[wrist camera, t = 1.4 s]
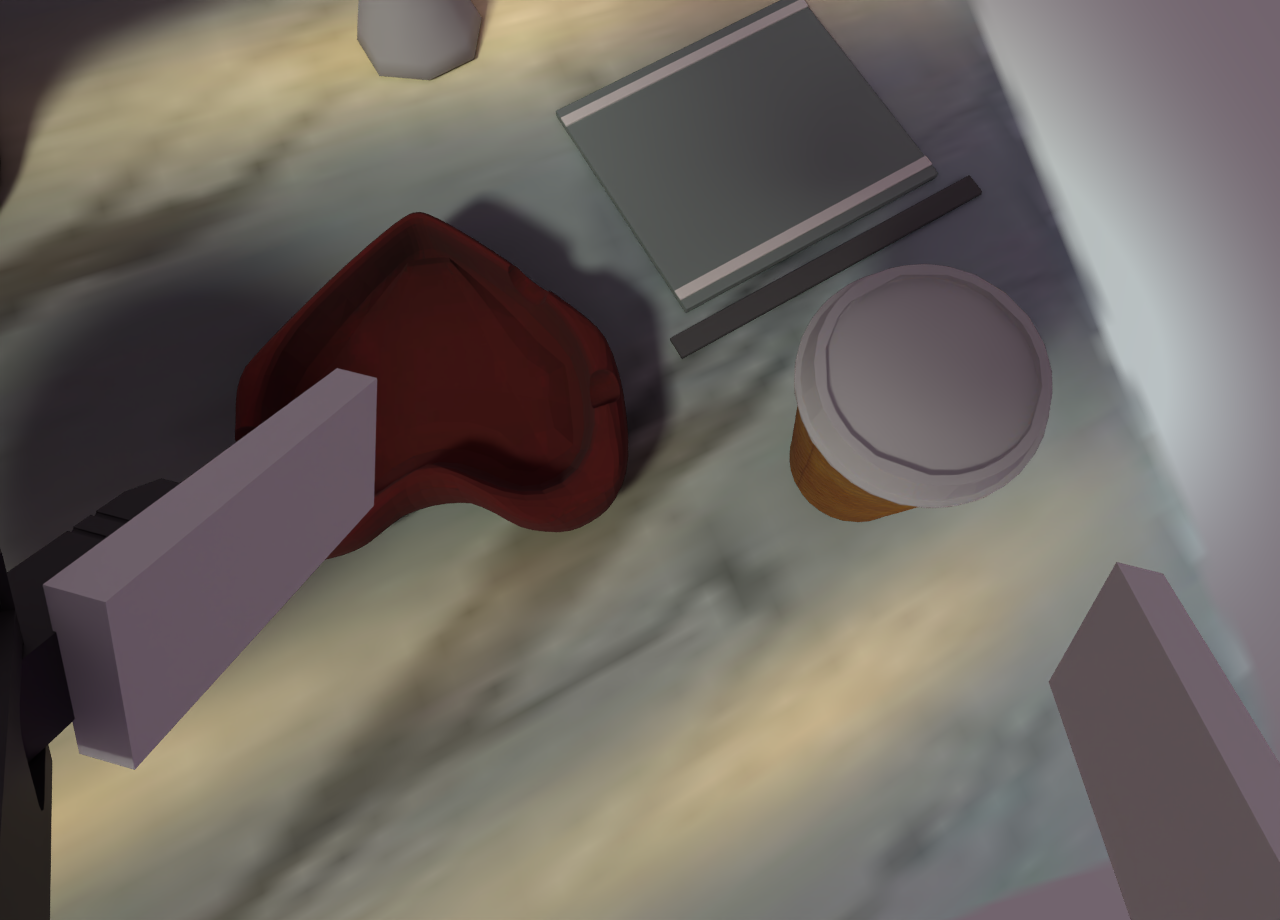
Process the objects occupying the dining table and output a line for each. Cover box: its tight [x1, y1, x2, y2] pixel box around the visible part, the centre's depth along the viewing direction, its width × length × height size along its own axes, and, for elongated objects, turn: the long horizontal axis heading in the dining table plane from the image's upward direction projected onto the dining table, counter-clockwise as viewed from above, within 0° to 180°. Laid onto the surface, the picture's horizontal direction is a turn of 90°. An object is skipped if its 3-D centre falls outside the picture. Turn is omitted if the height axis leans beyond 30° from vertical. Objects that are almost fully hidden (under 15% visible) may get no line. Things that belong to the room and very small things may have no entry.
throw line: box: [670, 175, 982, 359], centre depth 45 cm, size 1×19×1 cm, turn 121°
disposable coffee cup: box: [790, 264, 1052, 522], centre depth 36 cm, size 10×10×12 cm
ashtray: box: [235, 212, 628, 559], centre depth 41 cm, size 18×16×5 cm
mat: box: [556, 0, 938, 313], centre depth 47 cm, size 14×16×1 cm
